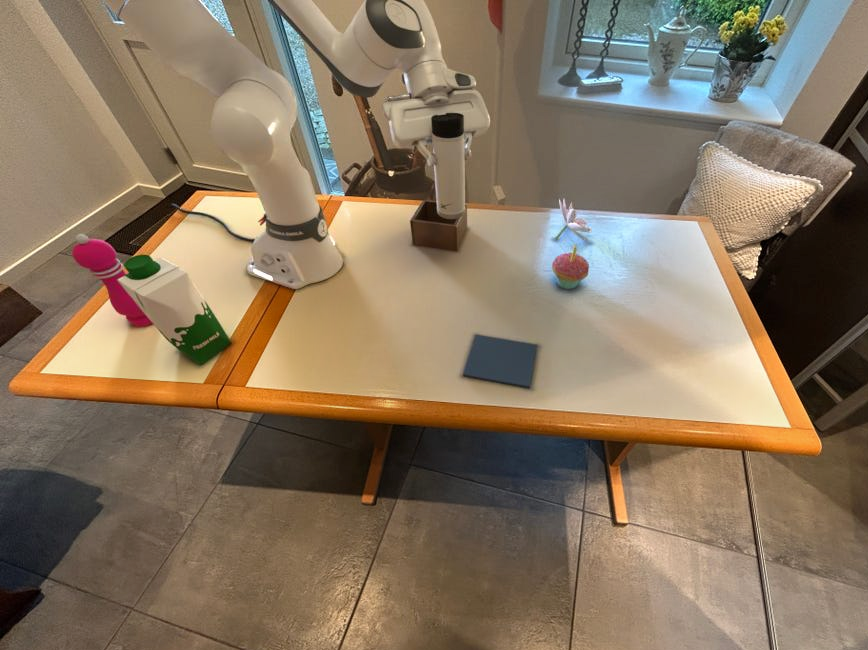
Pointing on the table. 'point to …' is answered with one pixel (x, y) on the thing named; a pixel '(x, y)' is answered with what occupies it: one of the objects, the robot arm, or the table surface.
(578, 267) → the cupcake
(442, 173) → the travel mug
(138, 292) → the milk carton
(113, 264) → the pepper mill
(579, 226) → the water lily
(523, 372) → the mat
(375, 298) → the table surface
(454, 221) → the cubby
